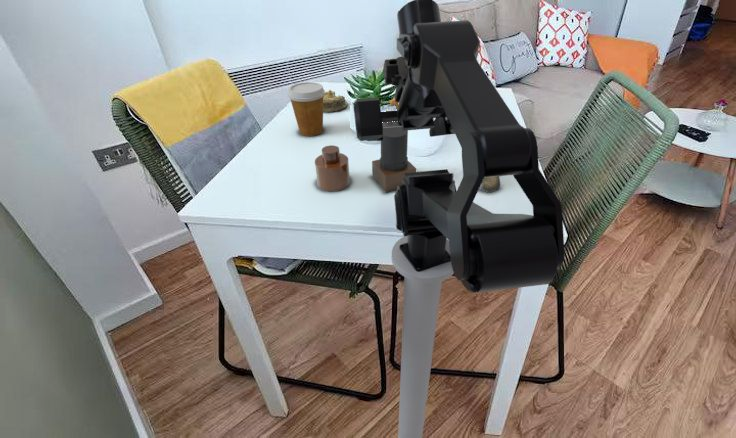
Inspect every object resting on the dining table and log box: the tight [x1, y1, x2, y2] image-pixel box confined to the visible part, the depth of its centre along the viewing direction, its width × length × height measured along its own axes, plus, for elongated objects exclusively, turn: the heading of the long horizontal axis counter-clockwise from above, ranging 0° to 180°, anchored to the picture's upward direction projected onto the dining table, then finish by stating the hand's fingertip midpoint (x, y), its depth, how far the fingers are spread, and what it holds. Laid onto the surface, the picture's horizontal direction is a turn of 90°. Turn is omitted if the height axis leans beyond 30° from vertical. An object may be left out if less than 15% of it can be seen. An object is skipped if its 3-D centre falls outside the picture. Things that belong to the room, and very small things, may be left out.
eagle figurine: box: [480, 176, 501, 194], centre depth 79 cm, size 8×7×9 cm
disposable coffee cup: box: [287, 81, 326, 137], centre depth 100 cm, size 10×10×12 cm
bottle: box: [314, 144, 351, 192], centre depth 79 cm, size 7×7×8 cm
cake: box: [323, 89, 348, 113], centre depth 116 cm, size 10×10×5 cm
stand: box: [371, 158, 417, 193], centre depth 80 cm, size 7×7×4 cm
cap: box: [379, 127, 409, 171], centre depth 77 cm, size 5×5×8 cm
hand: (405, 136), depth 68 cm, fingers open, 9 cm apart
